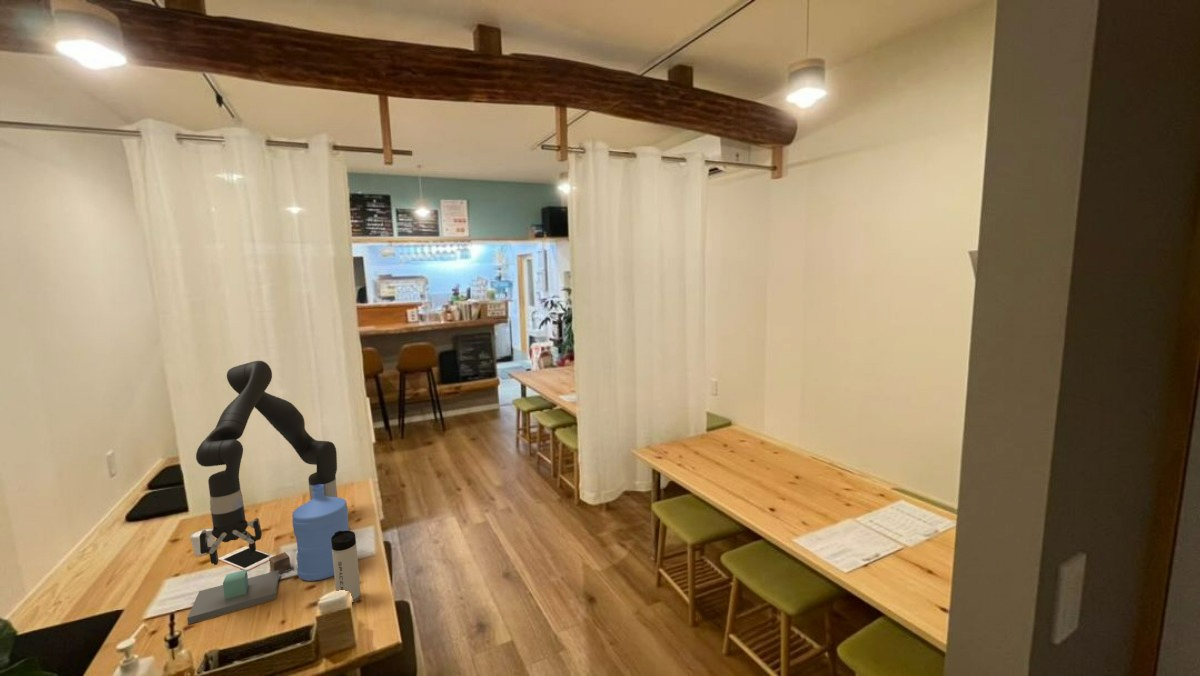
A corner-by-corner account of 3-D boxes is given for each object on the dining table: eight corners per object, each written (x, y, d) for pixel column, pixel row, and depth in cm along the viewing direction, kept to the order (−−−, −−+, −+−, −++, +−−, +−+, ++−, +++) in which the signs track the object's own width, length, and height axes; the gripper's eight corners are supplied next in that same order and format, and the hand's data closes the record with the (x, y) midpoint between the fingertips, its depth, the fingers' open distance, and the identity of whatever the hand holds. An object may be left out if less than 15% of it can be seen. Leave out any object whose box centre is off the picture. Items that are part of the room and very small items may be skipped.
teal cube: (248, 584, 145) (246, 569, 145) (245, 593, 141) (244, 577, 141) (228, 590, 143) (226, 574, 142) (224, 599, 139) (222, 583, 138)
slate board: (279, 575, 153) (278, 570, 153) (275, 599, 141) (274, 593, 141) (200, 597, 143) (199, 591, 143) (188, 624, 131) (187, 617, 131)
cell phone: (246, 548, 172) (245, 545, 172) (275, 559, 164) (275, 556, 164) (217, 561, 164) (217, 558, 164) (247, 572, 156) (246, 570, 156)
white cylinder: (202, 557, 166) (200, 538, 166) (186, 555, 168) (184, 536, 167) (221, 546, 173) (219, 528, 172) (206, 545, 174) (204, 527, 174)
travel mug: (353, 589, 144) (347, 526, 142) (365, 597, 140) (359, 532, 139) (332, 601, 139) (326, 536, 137) (343, 609, 135) (337, 542, 134)
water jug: (363, 558, 162) (356, 479, 159) (322, 585, 147) (314, 498, 144) (328, 552, 167) (321, 474, 164) (286, 577, 152) (277, 493, 149)
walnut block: (286, 564, 160) (284, 552, 159) (290, 569, 157) (289, 556, 156) (270, 571, 156) (269, 558, 156) (274, 575, 153) (273, 562, 153)
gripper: (258, 496, 146) (264, 546, 148) (199, 508, 139) (206, 560, 141) (255, 505, 140) (262, 557, 141) (193, 518, 133) (200, 573, 134)
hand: (234, 559), depth 141 cm, fingers open, 8 cm apart
